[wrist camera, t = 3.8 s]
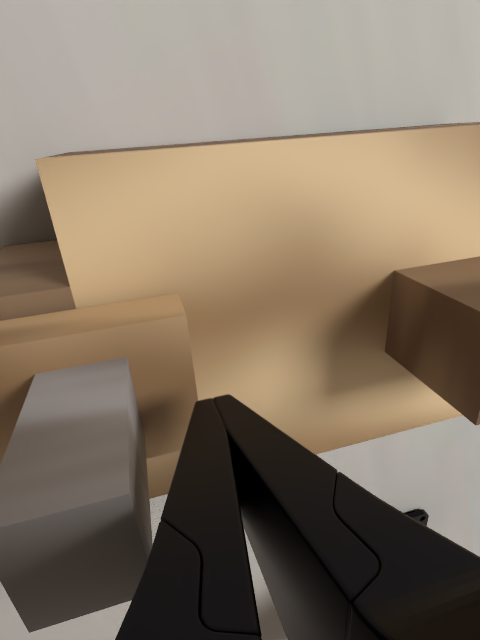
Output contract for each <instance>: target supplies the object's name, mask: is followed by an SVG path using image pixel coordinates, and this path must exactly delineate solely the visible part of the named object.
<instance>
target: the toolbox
mask: <svg viewBox="0 0 480 640" xmlns="http://www.w3.org/2000/svg"><path fill="white" fill-rule="evenodd" d="M474 124H480V122H473V123H455V124H440V125H427V126H413V127H400V128H387V129H374V130H360V131H347V132H334V133H320V134H307V135H294V136H281V137H267V138H254V139H241V140H228V141H214V142H201V143H188V144H175V145H161V146H148V147H135V148H122V149H108V150H95V151H82V152H69V153H64V154H59V155H54V156H49V157H59V156H72V155H85V154H98V153H111V152H124V151H137V150H150V149H163V148H176V147H189V146H202V145H215V144H228V143H241V142H254V141H266V140H279V139H292V138H305V137H318V136H331V135H344V134H357V133H370V132H383V131H396V130H409V129H422V128H435V127H448V126H461V125H474ZM44 158H46V157H44ZM73 309H76V306H75V303H74V299H73V295H72V292H71V288H70V284H69V281H68V277H67V273H66V270H65V266H64V263H63V259H62V255H61V252H60V248H59V244H58V241H57V240H52V241H43V242H35V243H27V244H18V245H10V246H5V247H4V248H2V249H1V250H0V321H3V320H9V319H16V318H22V317H28V316H35V315H41V314H47V313H54V312H60V311H66V310H73Z"/></svg>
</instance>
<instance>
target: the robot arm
mask: <svg viewBox="0 0 480 640" xmlns="http://www.w3.org/2000/svg"><path fill="white" fill-rule="evenodd" d="M427 521H428V514H427V513H426V512H425V510H423V509H422V510H418V511H415V512H412V513H408V514H404V513H402V512H401V511H399V510H397V509H396V508H394V507H392V506H391V505H389V504H387V503H386V502H384V501H382V500H381V499H379V498H377V497H376V496H375V495H373V494H372V493H370V492H369V491H367V490H366V489H364V488H363V487H361V486H360V485H358V484H357V483H355V482H354V481H352V480H351V479H349V478H348V477H347V476H345V475H344V474H342V473H341V472H338V473H337V470H336V469H335V468H334V467H332V466H331V465H329V464H328V463H326V462H325V461H324V460H322V459H321V458H319V457H318V456H317V455H315V454H314V453H312V452H311V451H310V450H308V449H307V448H305V447H304V446H302V445H301V444H300V443H298V442H297V441H295V440H294V439H293V438H291V437H290V436H288V435H287V434H285V433H284V432H283V431H281V430H280V429H278V428H277V427H276V426H274V425H273V424H271V423H270V422H269V421H267V420H266V419H264V418H263V417H261V416H260V415H259V414H257V413H256V412H254V411H253V410H252V409H250V408H249V407H247V406H246V405H244V404H243V403H242V402H240V401H239V400H237V399H236V398H235V397H233V396H232V395H229V394H227V395H222V396H217V397H214V398H208V399H203V400H199V401H196V402H195V404H194V408H193V411H192V415H191V418H190V421H189V425H188V428H187V432H186V435H185V438H184V442H183V445H182V449H181V452H180V455H179V459H178V462H177V466H176V469H175V472H174V476H173V479H172V482H171V486H170V489H169V493H168V496H167V499H166V503H165V506H164V510H163V513H162V516H161V522H160V523H159V526H158V529H157V533H156V536H155V539H154V543H153V546H152V549H151V552H150V555H149V558H148V561H147V564H146V567H145V569H144V572H143V574H142V577H141V579H140V582H139V584H138V587H137V589H136V592H135V594H134V597H133V599H132V602H131V604H130V607H129V609H128V611H127V613H126V616H125V618H124V620H123V623H122V625H121V627H120V630H119V632H118V634H117V637H116V639H115V640H262V639H261V630H260V624H259V618H258V612H257V606H256V600H255V594H254V588H253V582H252V575H251V569H250V563H249V557H248V551H247V545H246V539H245V533H244V529H245V531H246V534H247V536H248V539H249V541H250V544H251V547H252V549H253V552H254V554H255V557H256V559H257V562H258V564H259V567H260V569H261V572H262V575H263V577H264V580H265V582H266V585H267V587H268V590H269V592H270V595H271V597H272V600H273V603H274V605H275V608H276V610H277V613H278V615H279V618H280V620H281V623H282V625H283V628H284V631H285V633H286V636H287V638H288V640H480V557H479V556H477V555H475V554H474V553H472V552H470V551H468V550H467V549H465V548H463V547H461V546H460V545H458V544H456V543H455V542H453V541H451V540H449V539H448V538H446V537H444V536H442V535H441V534H439V533H437V532H435V531H434V530H432V529H430V528H428V527H427ZM243 526H244V527H243Z"/></svg>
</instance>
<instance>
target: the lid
mask: <svg viewBox="0 0 480 640" xmlns="http://www.w3.org/2000/svg"><path fill="white" fill-rule="evenodd" d="M35 161H36V164H37V168H38V172H39V175H40V179H41V182H42V186H43V190H44V193H45V197H46V201H47V204H48V208H49V212H50V215H51V219H52V222H53V226H54V230H55V233H56V237H57V241H58V244H59V248H60V252H61V255H62V259H63V263H64V266H65V270H66V273H67V277H68V281H69V284H70V288H71V292H72V295H73V299H74V303H75V306H76V309H79V308H86V307H92V306H98V305H105V304H111V303H117V302H124V301H130V300H136V299H143V298H149V297H156V296H162V295H168V294H175V293H179V296H180V299H181V302H182V305H183V307H184V310H185V313H186V317H187V324H188V331H189V339H190V346H191V353H192V360H193V367H194V375H195V382H196V389H197V396H198V401H199V400H203V399H208V398H214V397H217V396H222V395H227V394H229V395H232V396H233V397H235V398H236V399H237V400H239V401H240V402H242V403H243V404H244V405H246V406H247V407H249V408H250V409H252V410H253V411H254V412H256V413H257V414H259V415H260V416H261V417H263V418H264V419H266V420H267V421H269V422H270V423H271V424H273V425H274V426H276V427H277V428H278V429H280V430H281V431H283V432H284V433H285V434H287V435H288V436H290V437H291V438H293V439H294V440H295V441H297V442H298V443H300V444H301V445H302V446H304V447H305V448H307V449H308V450H310V451H311V452H312V453H314V454H319V453H323V452H326V451H330V450H334V449H338V448H341V447H345V446H349V445H353V444H356V443H360V442H364V441H368V440H371V439H375V438H379V437H383V436H386V435H390V434H394V433H398V432H402V431H405V430H409V429H413V428H417V427H420V426H424V425H428V424H432V423H435V422H439V421H443V420H447V419H450V418H454V417H458V416H462V415H464V416H465V417H466V418H467V419H469V420H470V421H471V422H472V423H473V424H475V425H479V424H480V124H474V125H461V126H448V127H435V128H422V129H409V130H396V131H383V132H370V133H357V134H344V135H331V136H318V137H305V138H292V139H279V140H266V141H254V142H241V143H228V144H215V145H202V146H189V147H176V148H163V149H150V150H137V151H124V152H111V153H98V154H85V155H72V156H59V157H46V158H40V159H35ZM180 452H181V451H176V452H172V453H168V454H164V455H160V456H156V457H152V458H148V459H146V461H147V475H148V490H149V499H150V498H154V497H157V496H161V495H165V494H168V493H169V489H170V486H171V482H172V479H173V476H174V472H175V469H176V466H177V462H178V459H179V455H180Z"/></svg>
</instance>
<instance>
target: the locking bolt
mask: <svg viewBox="0 0 480 640" xmlns="http://www.w3.org/2000/svg"><path fill="white" fill-rule="evenodd" d="M196 401H198V396H197V389H196V382H195V375H194V367H193V360H192V353H191V346H190V339H189V331H188V324H187V317H186V313H185V310H184V307H183V305H182V302H181V299H180V296H179V293H175V294H168V295H162V296H156V297H149V298H143V299H136V300H130V301H124V302H117V303H111V304H105V305H98V306H92V307H86V308H79V309H73V310H66V311H60V312H54V313H47V314H41V315H35V316H28V317H22V318H16V319H9V320H3V321H0V581H1V583H2V585H3V587H4V588H5V590H6V592H7V594H8V596H9V597H10V599H11V601H12V603H13V604H14V606H15V608H16V610H17V612H18V613H19V615H20V617H21V619H22V621H23V622H24V624H25V626H26V628H27V630H28V631H29V633H30V632H33V631H36V630H39V629H42V628H45V627H48V626H52V625H55V624H58V623H61V622H64V621H67V620H70V619H74V618H77V617H80V616H83V615H86V614H89V613H92V612H96V611H99V610H102V609H105V608H108V607H111V606H114V605H118V604H121V603H124V602H127V601H130V600H132V599H133V597H134V594H135V592H136V589H137V587H138V584H139V582H140V579H141V577H142V574H143V572H144V569H145V567H146V564H147V561H148V558H149V555H150V552H151V549H152V532H151V518H150V504H149V490H148V475H147V461H146V459H148V458H152V457H156V456H160V455H164V454H168V453H172V452H176V451H181V449H182V445H183V442H184V438H185V435H186V432H187V428H188V425H189V421H190V418H191V415H192V411H193V408H194V404H195V402H196Z"/></svg>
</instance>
